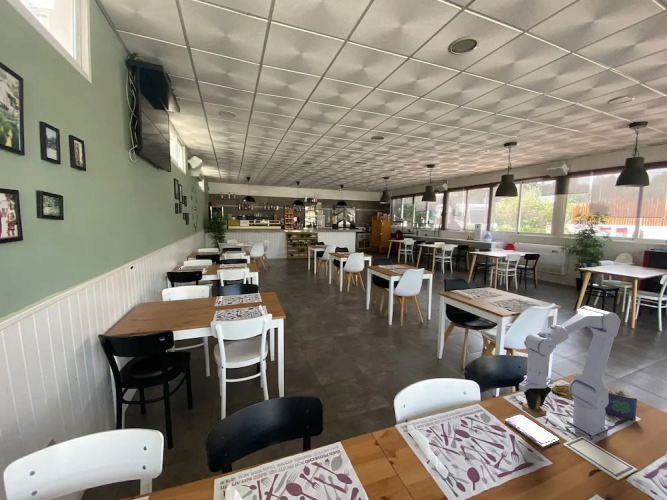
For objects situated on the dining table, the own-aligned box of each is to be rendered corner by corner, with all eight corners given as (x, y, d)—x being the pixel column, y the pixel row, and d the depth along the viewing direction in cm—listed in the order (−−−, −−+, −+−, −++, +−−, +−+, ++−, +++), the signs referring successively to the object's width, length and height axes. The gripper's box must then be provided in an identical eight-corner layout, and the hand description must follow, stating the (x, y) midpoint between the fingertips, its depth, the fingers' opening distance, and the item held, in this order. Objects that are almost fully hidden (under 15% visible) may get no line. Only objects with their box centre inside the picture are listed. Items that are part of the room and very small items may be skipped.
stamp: (532, 406, 101) (533, 390, 100) (546, 415, 96) (547, 398, 95) (521, 409, 99) (522, 392, 99) (535, 418, 95) (536, 400, 94)
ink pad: (520, 416, 106) (520, 413, 106) (559, 442, 94) (559, 438, 94) (504, 422, 103) (505, 418, 103) (542, 448, 91) (542, 444, 91)
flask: (633, 418, 106) (636, 391, 105) (637, 422, 103) (639, 395, 103) (601, 410, 110) (603, 384, 110) (604, 414, 108) (606, 388, 107)
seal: (562, 402, 117) (594, 400, 118) (564, 392, 116) (596, 391, 118) (544, 388, 126) (574, 386, 128) (545, 378, 126) (576, 377, 127)
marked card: (581, 437, 96) (581, 436, 96) (636, 470, 83) (637, 468, 83) (563, 444, 92) (563, 443, 92) (617, 480, 79) (617, 478, 79)
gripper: (539, 360, 103) (537, 395, 104) (511, 367, 98) (509, 403, 99) (560, 369, 96) (557, 406, 97) (531, 377, 91) (529, 416, 92)
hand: (534, 406), depth 97 cm, fingers closed on stamp, 3 cm apart
